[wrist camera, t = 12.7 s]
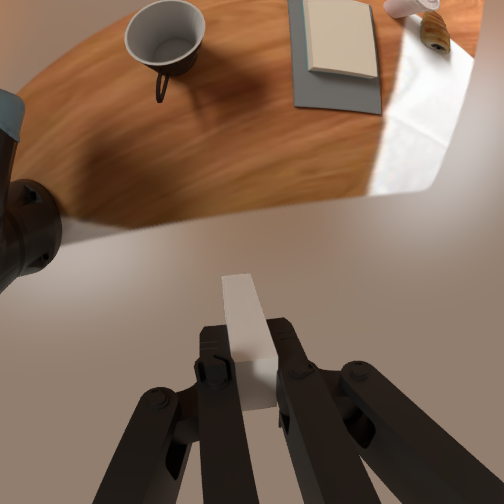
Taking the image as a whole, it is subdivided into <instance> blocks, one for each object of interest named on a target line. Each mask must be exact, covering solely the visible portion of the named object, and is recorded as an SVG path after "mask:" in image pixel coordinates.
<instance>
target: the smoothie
mask: <svg viewBox="0 0 504 504" xmlns="http://www.w3.org/2000/svg"><path fill="white" fill-rule="evenodd" d="M439 7H440V0H387V1H386V2H385V3H384V9H385V11H386V13H387V14H388V15H389V16H391V17H393V18H401V17H405V16H408V15H412V14H417V13H421V12H426V11H429V12H434V11H435V10H438V9H439Z"/></svg>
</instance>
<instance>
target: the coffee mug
mask: <svg viewBox="0 0 504 504" xmlns="http://www.w3.org/2000/svg"><path fill="white" fill-rule="evenodd" d="M204 33H205V20H204V17H203V15H202V13H201V12H200V10H199V9H198V8H197V7H195V6H194V5H193V4H191V3H189V2H186V1H183V0H161V1H157V2H154V3H152V4H149V5H147V6H146V7H144V8H142V9H141V10H140V11H139V12H138V13H136V14H135V15H134V17H133V18H132V19H131V20H130V22H129V24H128V26H127V28H126V31H125V39H124V40H125V46H126V48H127V50H128V52H129V53H130V55H131V56H132V57H133V58H135V59H136V60H137V61H139V62H141V63H143V64H144V65H146V66H148V67H149V68H151V69H153V70H155V71H156V72H158V73H159V74H158V78H157V83H156V100H157V103H162V101H163V99H164V95H165V92H166V88H167V83H168V79H169V76H178V75H181V74H183V73H185V72H187V71H188V70H189V69H190V68H191V67H192V66H193V65H194V63H195V61H196V59H197V55H198V52H199V49H200V46H201V43H202V39H203V36H204ZM162 75H165V76H166V77H165V81H164V85H163V89H162V93H161V95H160V85H161V78H162Z"/></svg>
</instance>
